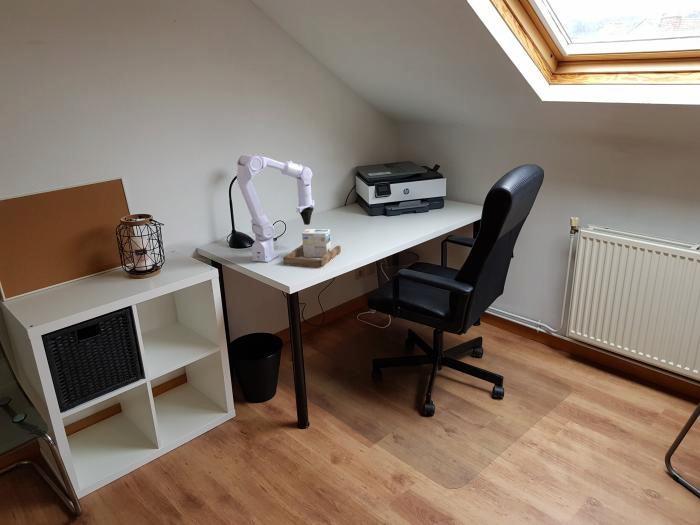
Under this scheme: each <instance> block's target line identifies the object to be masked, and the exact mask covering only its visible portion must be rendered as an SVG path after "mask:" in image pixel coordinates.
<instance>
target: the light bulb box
mask: <svg viewBox="0 0 700 525" xmlns="http://www.w3.org/2000/svg"><path fill="white" fill-rule="evenodd" d="M301 237H302V244H303V252H304V253H303V258H322V257H323V256H324V255H325V254H327V253H328V252H329V251H331V250H332V246H331V245H332V244H331V231H330V229H329V228H324V229H323V228H318V229H317V228H306V229H304V231H303V232H302V233H301Z"/></svg>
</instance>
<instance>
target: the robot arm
mask: <svg viewBox="0 0 700 525" xmlns="http://www.w3.org/2000/svg"><path fill="white" fill-rule="evenodd" d="M236 166H237V170H236V171H237V173H236V182H237V184H238V187H239V189H240V192H241V194H242V197H243V199H244V201H245V203H246V206H247V209H248V211H249V214H250V216H251V220H250V223H251V229H252V230H251V231H252V233H253V234H254V236H255V241H254V242H253V244H252V246H251V249H252V250H251V251H252V259H251V261H252V262H263V263H269V262H270V261H272V260H273V259H275V258H277V257H278V256H279V254H278V253H275V248H274V239H273V237H274V235H275V232H276V230H275V229H276V228H275V227H274V225H273V224H272V223H271V222H270V219H269V218H268V217H267V216H266V215H265V213H264V210H263V207H262V205H261V202H260V200H259V197H258V194H257V191H256V189H255V187H254V184H253V181H252V180H253V178H254V177H256V175H257V174H258V173H259V172H260V171H261V169H264V168H267V167H268V168H271V169H275V170H278V171H280V172H281V174H282V175H284V176H288V177H291V178H295V179H296V184H297V185H296V186H297V197H298V198H297V199H298V204H297V207H296V209H295V210H296V213H299V215H300V216H301V218H302V221H303V224H304V225H306V226H308V225H310V224H311V218H312V214H313V212H314V209H315V208H314V206H315V204H316V203H315V202H316V201H315V199H312V198H313V197H312V186H311V185H312V182H311V181H312V178H313V172H312V170H311V168H310V167H308V166H304V165H303V164H301V163H295V162H293V160H290V159H288V160H284V161H282V162H280V161H279V160H276V159H272V158H270V157H266V156H263V155H255V154H249V153H243V154H241V155H240V156H239V158H238V159H237V162H236Z"/></svg>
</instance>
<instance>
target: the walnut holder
mask: <svg viewBox="0 0 700 525" xmlns="http://www.w3.org/2000/svg"><path fill="white" fill-rule="evenodd" d="M341 247H342V246H341V245H338V244H337V245H336V246H335V247H333V248H331V251H329V252H328V253H327V254H325V255H324V256H323V257H319V258H312V257H300V256H302V255H304V252H303V243H302V244H301V245H299V246H298V247H296V248H295V249H293V250H292V251H291V252H289V253H287V254H285V256H283V257H282V258H283V265H287V264H290V265H289V266H297V265H301V266H300V267H307V266H313V267H312V268H318V267H322V268H324V266H326V265H328V263H329V262H331V261H332V260H333V259H334V258H336V257H337V256H338V255H340V252H341V253H342V250H341V249H342V248H341ZM336 255H337V256H336ZM335 256H336V257H335ZM331 259H332V260H331ZM330 260H331V261H330ZM325 264H326V265H325Z"/></svg>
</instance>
